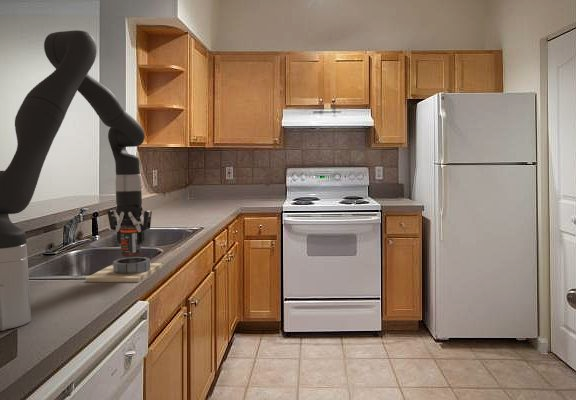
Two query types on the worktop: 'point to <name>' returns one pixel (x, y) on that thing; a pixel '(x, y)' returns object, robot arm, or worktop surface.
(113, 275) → the base board
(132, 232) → the supplement bottle
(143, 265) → the collar
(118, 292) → the worktop surface
